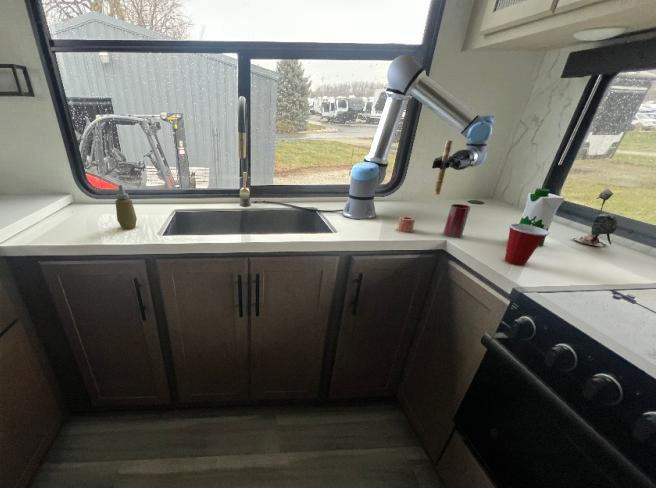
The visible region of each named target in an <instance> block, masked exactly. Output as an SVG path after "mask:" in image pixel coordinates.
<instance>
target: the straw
mask: <svg viewBox="0 0 656 488" xmlns="http://www.w3.org/2000/svg"><path fill="white" fill-rule="evenodd" d="M453 143H454V140H446V141H445V146H444V149H443V153H442V156H443V157H442V161H446V160H449V156H451V151H452V148H453ZM442 161H441V162H442ZM440 166H441V165H440ZM438 169H439V170H438V173H437V178H436V182H435V186H434V190H433V195H437V196H439V195H441V191H442V186H443V184H444V179H445V176H446V171H447V168H446V169H440V168H438Z"/></svg>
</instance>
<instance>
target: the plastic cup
mask: <svg viewBox="0 0 656 488" xmlns="http://www.w3.org/2000/svg"><path fill="white" fill-rule="evenodd" d="M508 227H509V232H508V239H507V242H506V248H505V256H504V261H505V262H507V263H508V264H510V265H515V266H524V265H526V263H528V261H529V259H530V258H531V257H532V255H533V254H534V253H535V251H536V250H537V248H538V247H539V246H538V245H539V244H540V242H541V241H542V240H543V239H544V238H545V237H547V236H549V235H550V231H549V230H548V231H546V230H544V229H542V228H538V227H535V226H530V225H525V224H519V223H515V222H514V223H510V224H509V225H508ZM545 239H546V238H545Z"/></svg>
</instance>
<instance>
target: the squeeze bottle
mask: <svg viewBox="0 0 656 488" xmlns="http://www.w3.org/2000/svg"><path fill="white" fill-rule="evenodd" d="M114 201H115V211H116V220H117V222H118V224H119V226H120V228H121V229H123V230H131V229H134V228H136V227H137V220H138V218H137V215H136V214H137V213H136V211H135V207H134V204H133V201H132V199H131V198H129V193H127V192H126V191H125V188H124V187H123V185H122V184H119V185H118V193H117V194H116V200H114Z"/></svg>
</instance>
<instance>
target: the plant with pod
mask: <svg viewBox="0 0 656 488" xmlns="http://www.w3.org/2000/svg"><path fill="white" fill-rule="evenodd" d="M613 195H614V193H613V192H612V191H611V190H610V189H609V188H606V189H604V190H603V191H601V192H600V193H599V194H598V197H596V200H598V199H601V200H602V203H601V208H600V211H599V213H598V214H597V215H596V216H595V218H594V220H593V223H592V226H591V232H590V234H587V235H584V236H579V237H573V240H575V241H577V242H579V243H581V244H586V245H589V246H594V247H598V248H601V247H606V246H607V244H606V243H604V242H602V241H600V238H599V236H600V235H606V239H607V241H608V244H609V245H612V243H613V242H612V241H611V236H610V235H612V234H614V233H615V232H616V230H617V228H618V218H617V215H616V214H614V213H613V214H612V213H602V211H603V207H604V205H605V203H606V201H608V200H609V199H610V198H611V197H612V196H613Z"/></svg>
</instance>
